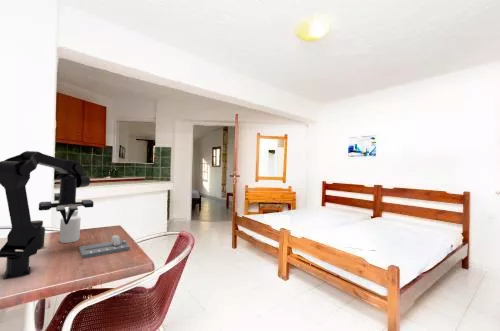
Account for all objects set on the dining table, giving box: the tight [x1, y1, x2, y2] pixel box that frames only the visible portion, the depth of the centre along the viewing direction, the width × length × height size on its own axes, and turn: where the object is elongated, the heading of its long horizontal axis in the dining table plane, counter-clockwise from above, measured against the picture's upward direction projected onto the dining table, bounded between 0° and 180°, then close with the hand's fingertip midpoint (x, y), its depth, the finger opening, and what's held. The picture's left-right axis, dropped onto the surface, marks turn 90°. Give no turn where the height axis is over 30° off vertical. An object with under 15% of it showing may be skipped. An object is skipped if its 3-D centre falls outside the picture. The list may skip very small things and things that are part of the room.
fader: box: [110, 234, 121, 246], centre depth 110 cm, size 5×2×4 cm, turn 42°
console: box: [78, 239, 131, 259], centre depth 107 cm, size 12×18×3 cm, turn 132°
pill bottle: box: [58, 209, 81, 244], centre depth 117 cm, size 8×8×15 cm
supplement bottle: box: [31, 220, 46, 250], centre depth 105 cm, size 7×7×12 cm
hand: (66, 224), depth 103 cm, fingers closed
